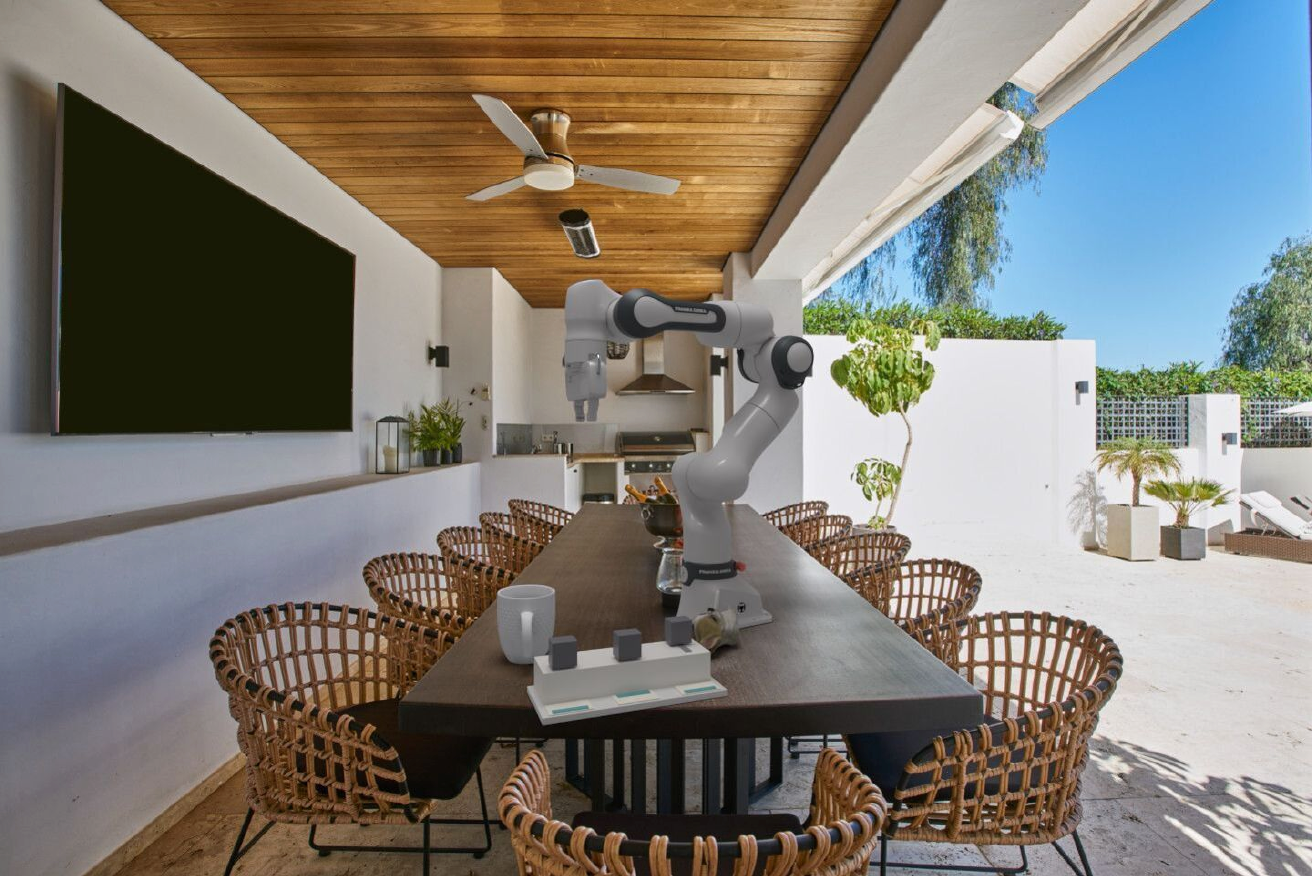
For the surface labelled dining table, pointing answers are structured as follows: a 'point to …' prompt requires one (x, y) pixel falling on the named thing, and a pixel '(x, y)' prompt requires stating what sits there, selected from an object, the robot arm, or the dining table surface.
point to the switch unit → (622, 682)
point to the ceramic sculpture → (715, 628)
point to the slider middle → (627, 644)
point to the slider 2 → (678, 630)
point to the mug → (525, 621)
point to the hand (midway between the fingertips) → (585, 421)
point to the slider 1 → (562, 652)
